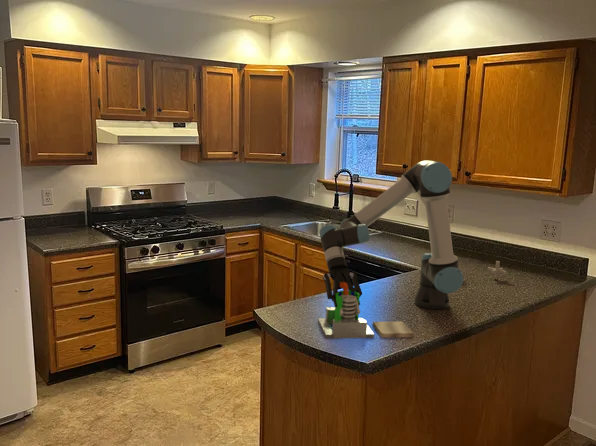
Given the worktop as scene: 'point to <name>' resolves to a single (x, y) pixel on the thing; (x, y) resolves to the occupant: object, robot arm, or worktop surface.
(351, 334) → the vise
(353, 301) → the green-shelled ribbed roller
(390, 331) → the board
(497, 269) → the pipe connector
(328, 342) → the worktop surface
